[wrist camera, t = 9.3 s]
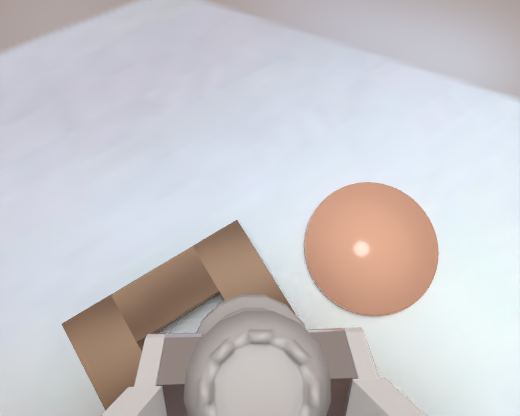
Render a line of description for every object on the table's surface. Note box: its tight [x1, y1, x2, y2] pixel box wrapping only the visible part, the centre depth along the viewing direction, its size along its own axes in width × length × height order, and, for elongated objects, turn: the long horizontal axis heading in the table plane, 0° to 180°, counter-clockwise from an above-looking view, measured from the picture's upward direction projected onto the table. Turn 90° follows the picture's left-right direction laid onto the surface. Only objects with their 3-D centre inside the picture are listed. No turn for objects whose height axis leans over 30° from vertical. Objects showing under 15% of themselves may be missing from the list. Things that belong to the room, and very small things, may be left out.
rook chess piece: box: [184, 294, 331, 416], centre depth 12 cm, size 4×4×8 cm
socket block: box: [62, 220, 295, 410], centre depth 26 cm, size 12×12×2 cm
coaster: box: [304, 182, 438, 316], centre depth 29 cm, size 9×9×1 cm
